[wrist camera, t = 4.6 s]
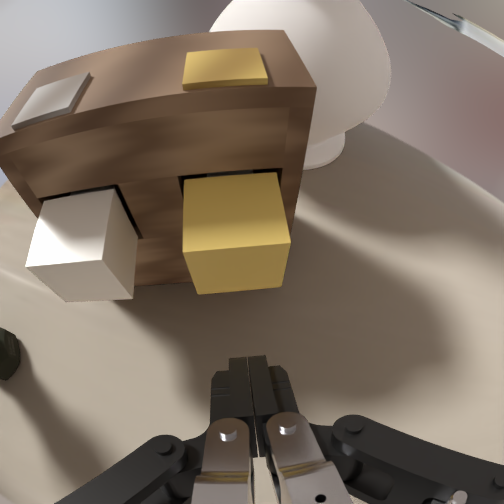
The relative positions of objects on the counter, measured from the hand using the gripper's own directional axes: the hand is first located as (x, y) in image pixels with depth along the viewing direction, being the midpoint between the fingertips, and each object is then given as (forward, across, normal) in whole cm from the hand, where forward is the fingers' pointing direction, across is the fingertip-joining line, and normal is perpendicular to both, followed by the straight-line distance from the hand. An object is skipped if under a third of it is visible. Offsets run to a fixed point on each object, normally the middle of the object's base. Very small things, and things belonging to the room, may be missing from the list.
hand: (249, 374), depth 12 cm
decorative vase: (+25, +7, +12) cm, 28 cm away
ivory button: (+7, -8, +4) cm, 11 cm away
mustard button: (+7, 0, +4) cm, 8 cm away
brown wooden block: (+15, -4, +2) cm, 16 cm away
